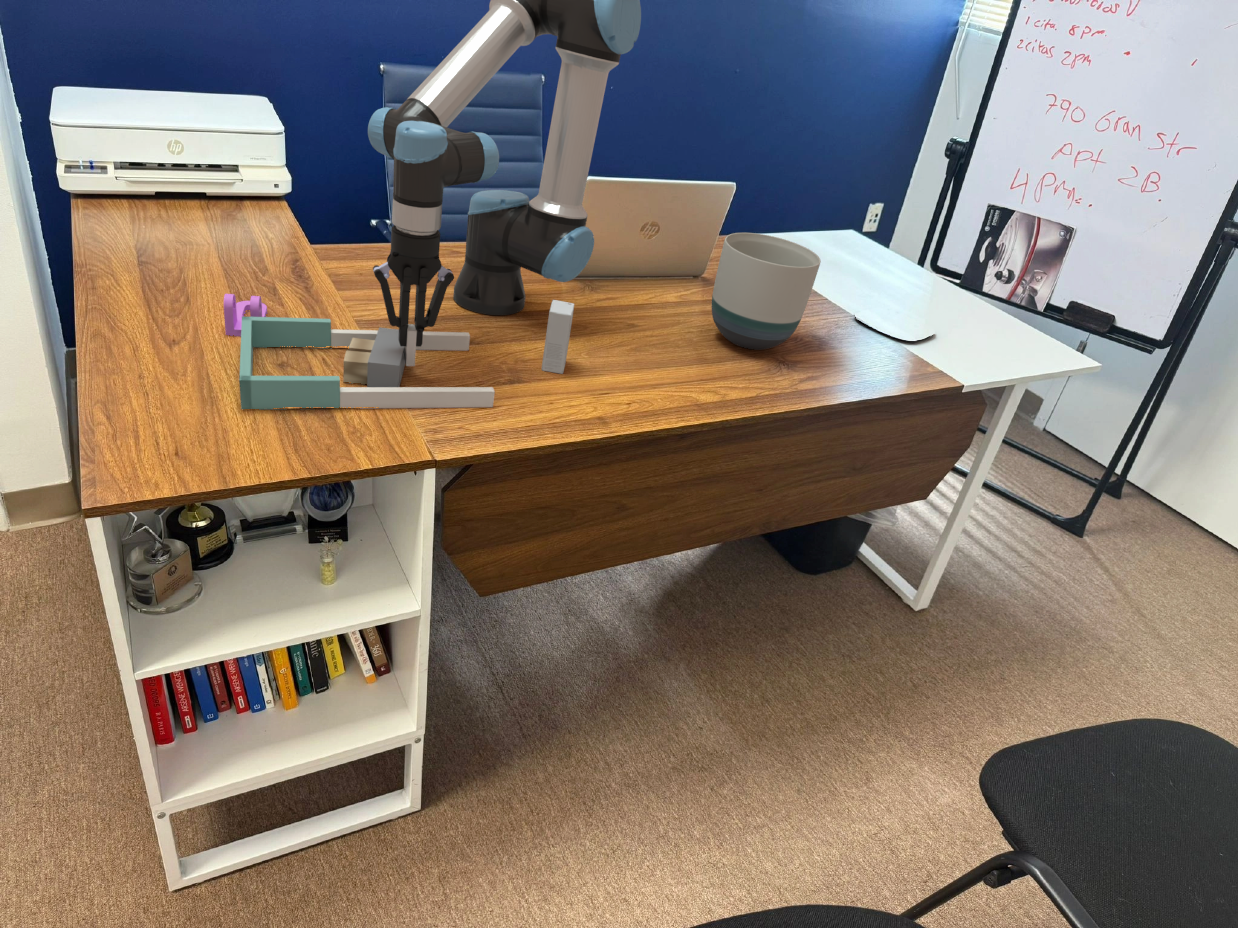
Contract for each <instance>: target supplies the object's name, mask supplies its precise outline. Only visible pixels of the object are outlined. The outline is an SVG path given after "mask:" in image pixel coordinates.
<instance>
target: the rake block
mask: <svg viewBox="0 0 1238 928" xmlns="http://www.w3.org/2000/svg"><path fill="white" fill-rule="evenodd" d="M398 339H399V328H398V329H395V328H388V327H378V333H377V336H376V339H375V342H374V345H373V348H372V351H371V354H370V357H369V360H368V372H367V385H366V387H401V386H400V385H401V382H402V378H403V374H404V371H405V366H406V364H405V361H404V346H400V343H399V340H398Z"/></svg>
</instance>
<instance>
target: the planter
mask: <svg viewBox="0 0 1238 928" xmlns="http://www.w3.org/2000/svg"><path fill="white" fill-rule="evenodd" d="M821 263H822V262H821V257H820V256H819V255H818V254H817V253H815V251H813V250H811V249H810V248H807V247H805V246H803V245H802V244H799V243H797V242H794V241H790V240H788V239H786V238H785V239H784V238H781V237H777V236H773V235H768V234H763V233H756V232H755V233H754V232H735V233H734V232H733V233H731V234H728V235H726V237H725V238H724V241H723V245H722V250H721V252H720V257H719V261H718V266H717V271H716V274H715V280H714V285H713V289H712V290H713V291H712V296H711V315H712V320H713V322H714V324H715V326H716V328H717V330H718V331H719V333H720V334H721V335H722V336H723V337H724V338H725V339H727V340H728V341H729V342H730V343H732V344H734V345H736V346H738V347H741V348H743V347H744V349H747V348H748V350H753V349H754V350H756V351H758V350H759V351H761V350H768V349H771V348H775V347H777V346H779V345H782V344H783V343H784V342H786V341H787V340H789V339H790V337H791V336H792V335H793V334H794V332H795V331H796V330H797V328H798V327H799V324H800V322H801V320H802V318H803V316H804V313H805V311H806V307H807V305H808V302H809V299H810V296H811V293H812V291H813V287H814V284H815V281H816V277H817V275H818V271H819V269H820V265H821Z"/></svg>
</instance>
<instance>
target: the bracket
mask: <svg viewBox="0 0 1238 928" xmlns="http://www.w3.org/2000/svg"><path fill="white" fill-rule="evenodd" d="M246 310H250V311H249V312H250V316H249V317H267V316H266V314H267V315H268V305H266V304H265V303H263V302H262V297H261V295H260V296H259V295H258V296H257V295H251V296H250V300H242V301H239V302H238V301H237V300H236V295H235V293H225V294H224V297H223V314H224V315H223V317H224V319H223V320H224V330H225V336H226V335H228V336H227V337H229V335H230V336H231V337H241V327H242V316H245V315H246V312H245V311H246ZM244 314H245V315H244ZM233 335H234V336H233Z"/></svg>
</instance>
